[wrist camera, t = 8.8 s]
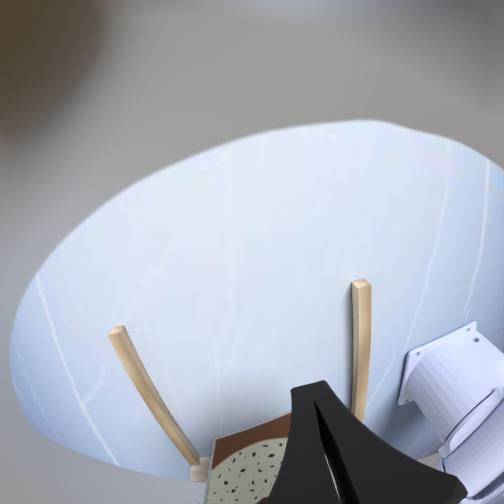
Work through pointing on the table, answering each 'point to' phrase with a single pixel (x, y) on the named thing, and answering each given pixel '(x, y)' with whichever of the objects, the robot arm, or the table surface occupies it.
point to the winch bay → (165, 419)
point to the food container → (247, 462)
